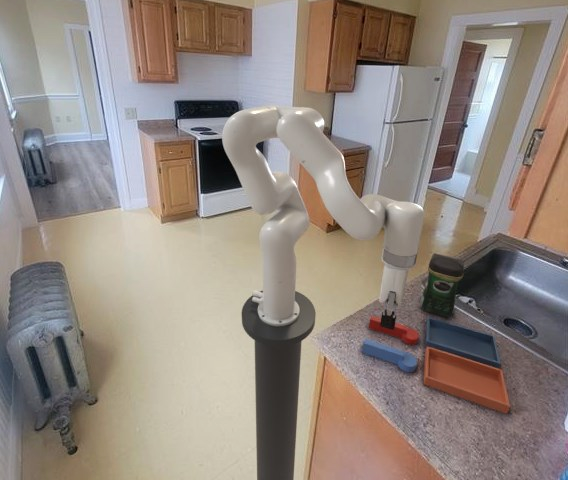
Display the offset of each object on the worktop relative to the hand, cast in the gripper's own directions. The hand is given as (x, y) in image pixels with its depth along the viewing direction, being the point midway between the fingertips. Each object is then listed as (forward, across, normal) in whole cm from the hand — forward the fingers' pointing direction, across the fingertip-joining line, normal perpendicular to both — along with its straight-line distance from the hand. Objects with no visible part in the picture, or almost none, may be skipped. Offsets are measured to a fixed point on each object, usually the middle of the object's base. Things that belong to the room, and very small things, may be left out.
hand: (389, 314), depth 80 cm
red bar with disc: (+13, -9, +2) cm, 16 cm away
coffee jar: (+14, -26, +13) cm, 32 cm away
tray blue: (+14, -12, +19) cm, 26 cm away
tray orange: (+14, 0, +19) cm, 23 cm away
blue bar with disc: (+13, +1, +1) cm, 14 cm away
